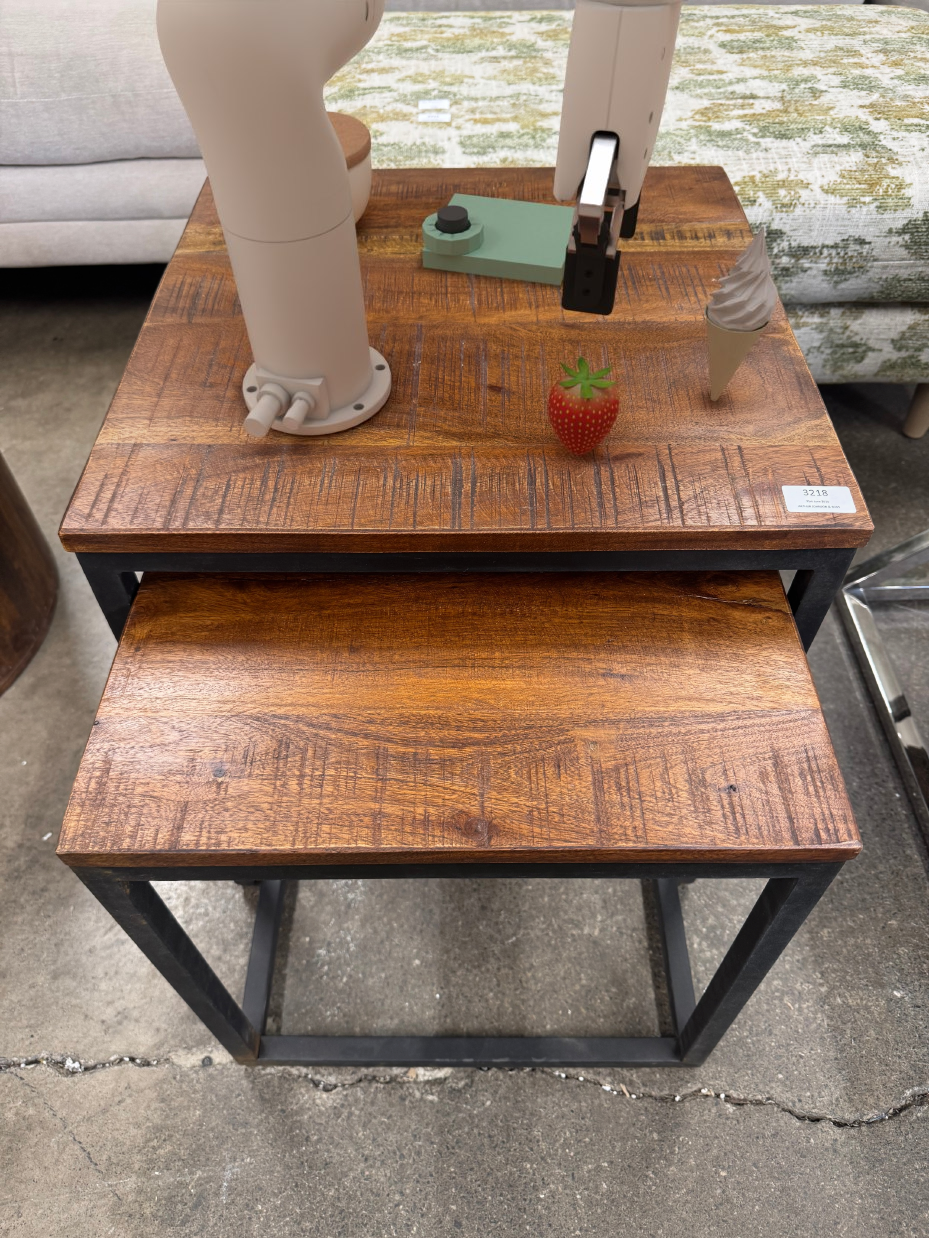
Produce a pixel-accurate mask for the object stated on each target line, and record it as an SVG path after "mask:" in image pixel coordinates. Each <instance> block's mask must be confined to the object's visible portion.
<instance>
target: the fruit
mask: <svg viewBox="0 0 929 1238" xmlns="http://www.w3.org/2000/svg"><path fill="white" fill-rule="evenodd" d="M559 364H560V366H561V368H562V369H563V371H564V372H565V373H566V374H564V375H562V376H561V377H559V378H558V379H557V380H556V382H554V384H553V385H552V387H551V390H550V392H549V395H548V400H547V414H548V419H549V423H550V425H551V428H552V429H553V432H554V433H555V435H556V437H557V438H558V440H559V441H560V443H561V444H562V445H563V447H564V448H565V449H566V450H567V451H568V452H570V453H571V454H573V455H576V456H579V455H580V456H581V455H585V454H587V453H589V452H591V451H592V450H594V449H595V448H596V447H597V446H598V445H599V444H600V443H601V442H602V441H603V440H604V439H605V438H606V437H607V436H608V435H609V433H610V431H611V430H612V428H613V427H614V424H615V423H616V420H617V417H618V415H619V411H620V397H619V394H618V390H617V388H616V386H615V384H617V381H611V380H609V379H608V378H606V377H605V376H607V375H608V374H609V373H610V371H611V370H612V369H613V367H614V366H613V365H610V366H608V367H605V368H603V369H600V370H598V371H596V372H593V373H592V372H590V371H591V370H590V363H587V361H586V359H585V358H584V357H583V356H579V357H578V358H577V363H576V365H577V370H578V371H577V370H574V369H573V368H570V367H568V366H567V365H566V364H565V363H563V362H561V361H560V362H559Z"/></svg>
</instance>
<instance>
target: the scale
mask: <svg viewBox="0 0 929 1238" xmlns="http://www.w3.org/2000/svg"><path fill="white" fill-rule="evenodd" d="M450 205H456V206H461V207H464V208H465V209H466V210H467V211H468V230H467V231H465V232H463V233H457V234H446V233H442V232H440V231H438V223H437V212H438V211H436V212H434V213H432V214H430V215H428V216H426V217H425V219H424V221H423V223H422V224H421V233H422V235H421V236H422V242H423V244H424V246H423V248H422V250H421V251H422V252H421V253H422V254H421V255H422V267H423V268H425V269H433V270H440V271H448V272H455V273H463V274H470V275H478V276H486V277H494V278H500V279H506V280H507V279H508V280H515V281H522V282H530V283H539V284H545V285H552V286H553V285H554V286H561V285H562V283H563V279H564V267H565V255H566V247H567V244H568V243H569V236H570V231H571V225H572V219H573V213H574V207H575V206H567V205H566V206H565V205H557V204H548V203H540V202H532V201H524V200H516V199H507V198H499V197H497V198H496V197H489V196H481V195H472V194H466V193H465V194H464V193H454V194H453V196H452V197H451V199H450V201H449V203H448V204H447V206H450Z"/></svg>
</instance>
